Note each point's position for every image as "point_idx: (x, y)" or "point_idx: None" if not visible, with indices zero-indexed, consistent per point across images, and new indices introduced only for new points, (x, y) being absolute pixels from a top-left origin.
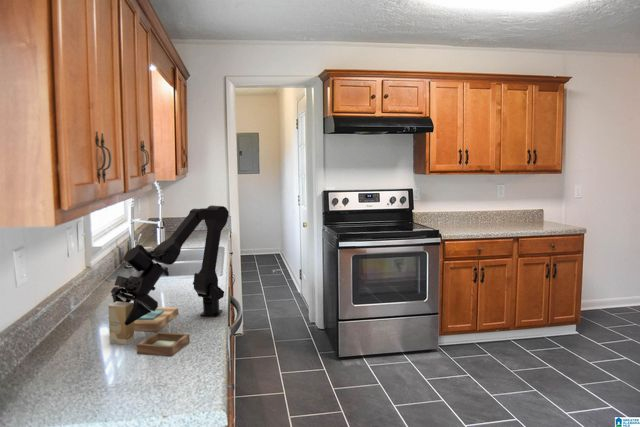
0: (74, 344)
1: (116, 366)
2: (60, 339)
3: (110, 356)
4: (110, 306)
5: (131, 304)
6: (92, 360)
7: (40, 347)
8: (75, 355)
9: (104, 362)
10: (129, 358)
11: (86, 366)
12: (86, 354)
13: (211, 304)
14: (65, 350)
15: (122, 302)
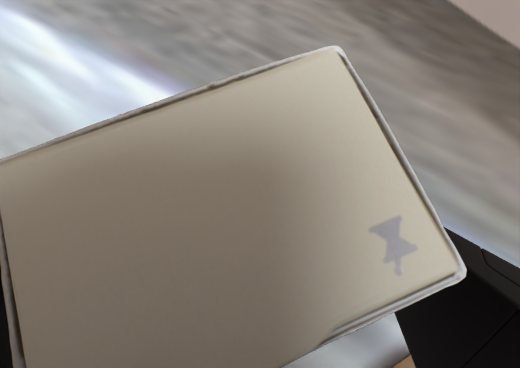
0: (399, 101)
1: (29, 62)
2: (509, 102)
3: (137, 104)
4: (294, 69)
5: (23, 365)
6: (168, 49)
7: (467, 22)
8: (273, 44)
9: (107, 61)
10: (41, 132)
11: (137, 12)
12: (246, 69)
13: None
14: (358, 51)
15: (268, 294)
